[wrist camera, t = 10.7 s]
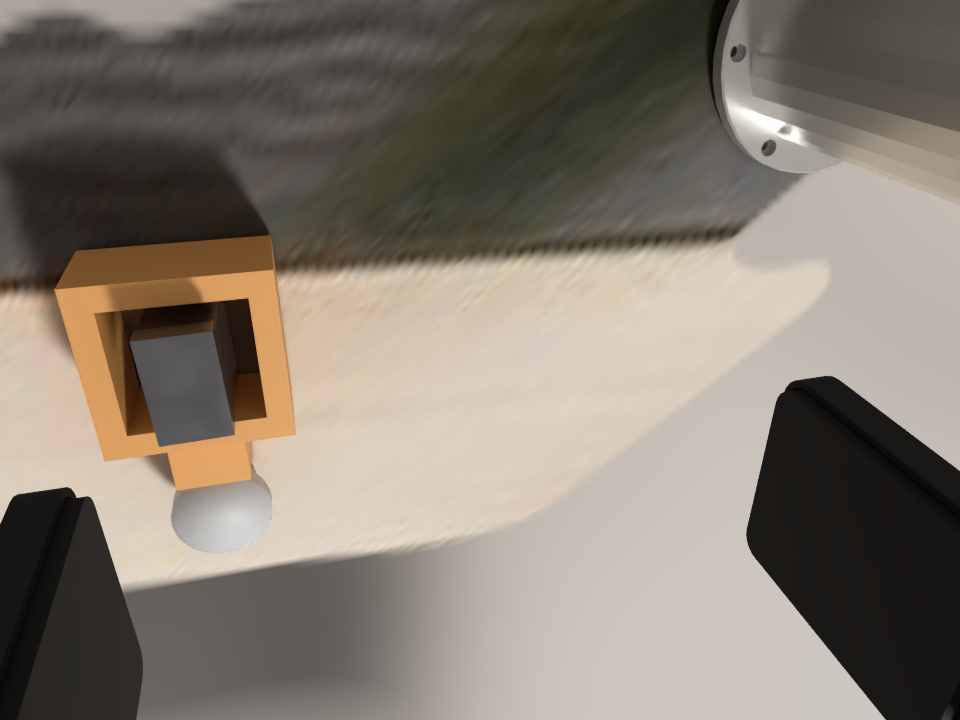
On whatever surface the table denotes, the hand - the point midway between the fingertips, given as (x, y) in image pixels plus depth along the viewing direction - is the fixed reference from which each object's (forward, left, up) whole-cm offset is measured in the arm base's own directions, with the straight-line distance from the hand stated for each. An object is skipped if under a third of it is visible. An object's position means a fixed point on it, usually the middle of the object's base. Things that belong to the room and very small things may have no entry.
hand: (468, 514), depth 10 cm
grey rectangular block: (+7, +10, -28) cm, 31 cm away
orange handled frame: (+7, +14, -28) cm, 32 cm away
